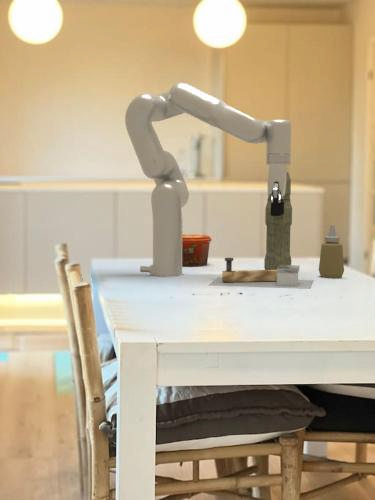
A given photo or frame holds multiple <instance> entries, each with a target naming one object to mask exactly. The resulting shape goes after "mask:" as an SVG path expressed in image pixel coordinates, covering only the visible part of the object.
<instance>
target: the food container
mask: <svg viewBox="0 0 375 500" xmlns="http://www.w3.org/2000/svg"><path fill="white" fill-rule="evenodd" d="M211 242H212V238H211V236H210V235H207V234H182V267H203V266H204V265H205V266H207V265H208V259H209V252H210V244H211ZM205 266H204V267H205Z"/></svg>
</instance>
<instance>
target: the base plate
mask: <svg viewBox="0 0 375 500" xmlns="http://www.w3.org/2000/svg"><path fill="white" fill-rule="evenodd" d="M313 283H314V279H313V280H312V279H298V286H277V281H245V282H223V281H222V276H218V277H217V278H215V279H214V280H212V282H210V283H208V286H213V287H214V286H217V287H244V288H245V287H246V288H275V289H276V288H277V289H298V290H299V289H300V290H301V289H302V290H305V289H306V290H311V287H312V285H313Z"/></svg>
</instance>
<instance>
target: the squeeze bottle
mask: <svg viewBox="0 0 375 500" xmlns="http://www.w3.org/2000/svg"><path fill="white" fill-rule="evenodd" d="M320 247H321V248H320V256H319V265H318V272H319V273H318V274H319V276H320V278H323V279H324V278H325V279H341V278H342V277H343V275H344V272H345V265H344V262H345V261H344V252H343V249H344V248H343V245H342V243H340V237H339V236H337V233H336V227H335V225H332V224H331V225H330V227H329V231H328V234H327V236H324V242H323V243H322V244H321V246H320Z"/></svg>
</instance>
